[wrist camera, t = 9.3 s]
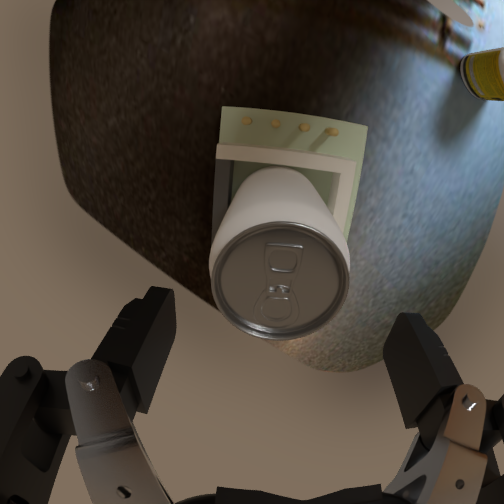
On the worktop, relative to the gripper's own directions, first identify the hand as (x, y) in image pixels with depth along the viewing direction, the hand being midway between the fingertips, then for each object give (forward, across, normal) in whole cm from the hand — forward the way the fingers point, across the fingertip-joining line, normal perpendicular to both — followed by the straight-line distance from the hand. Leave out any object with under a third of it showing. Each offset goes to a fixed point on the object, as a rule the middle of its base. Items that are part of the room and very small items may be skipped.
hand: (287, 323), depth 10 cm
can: (+14, 0, 0) cm, 14 cm away
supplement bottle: (+16, -17, -16) cm, 28 cm away
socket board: (+15, 0, 0) cm, 15 cm away
